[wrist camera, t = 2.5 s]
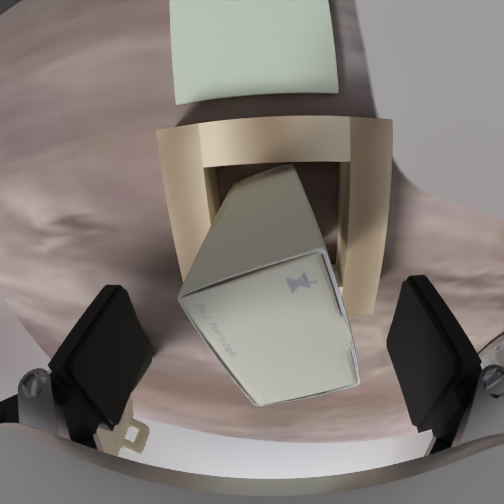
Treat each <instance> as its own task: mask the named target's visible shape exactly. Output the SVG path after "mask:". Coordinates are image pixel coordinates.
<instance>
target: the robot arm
mask: <svg viewBox="0 0 504 504" xmlns="http://www.w3.org/2000/svg"><path fill="white" fill-rule="evenodd" d="M387 349H388V352H389V355H390V358H391V360H392V363H393V366H394V369H395V372H396V375H397V378H398V381H399V384H400V387H401V390H402V393H403V396H404V399H405V402H406V405H407V409H408V412H409V415H410V419H411V422H412V424H413V425H414V426H417V429H418V433H420V432H424V431H427V430H430V429H432V432H433V439H432V440H431V443H430V445H429V447H428V449H427V451H426V453H425V455H424V457H421V458H417V459H414V460H410V461H406V462H402V463H398V464H394V465H390V466H385V467H381V468H376V469H372V470H366V471H360V472H355V473H348V474H341V475H333V476H324V477H312V478H296V479H245V478H229V477H218V476H209V475H201V474H194V473H187V472H181V471H176V470H170V469H165V468H160V467H155V466H151V465H147V464H143V463H139V462H135V461H131V460H128V459H124V458H120V457H117V456H114V455H111V454H108V453H105V452H104V450H103V447H102V445H101V442H100V439H99V437H98V434H97V429H98V426H99V427H100V428H102V429H105V430H108V431H112V432H113V429H114V427H115V425H118V424H119V422H120V420H121V417H122V415H123V412H124V409H125V407H126V404H127V402H128V399H129V397H130V394H131V392H132V389H133V387H134V385H135V382H136V380H137V377H138V375H139V373H140V370H141V368H142V365H143V363H144V361H145V358H146V356H147V354H148V350H149V346H148V342H147V340H146V338H145V335H144V333H143V330H142V328H141V326H140V323H139V321H138V318H137V316H136V313H135V311H134V308H133V305H132V303H131V300H130V297H129V295H128V292H127V291H126V290H125V289H124V288H123V287H122V286H121V285H106V286H104V287H103V289H102V290H101V291H100V293H99V294H98V295H97V296H96V298H95V299H94V300H93V302H92V303H91V304H90V306H89V307H88V308H87V310H86V311H85V312H84V314H83V315H82V316H81V318H80V319H79V320H78V322H77V323H76V325H75V326H74V327H73V329H72V330H71V332H70V333H69V334H68V336H67V337H66V339H65V340H64V342H63V343H62V345H61V346H60V347H59V349H58V350H57V352H56V353H55V355H54V356H53V358H52V359H51V361H50V363H49V364H48V366H49V368H50V369H51V370H52V371H51V373H50V374H49V373H48V372H47V371H46V370H44V369H42V368H37V369H33V370H31V371H29V372H28V373H26V374H25V375H24V376H23V378H22V379H21V380H20V383H19V386H18V394H17V395H14V396H12V397H10V398H8V399H5V400H3V401H1V402H0V504H504V334H503V335H502V336H500V337H499V338H497V339H496V340H494V341H493V342H492V343H490V344H489V345H488V346H487V347H486V348H485V349H483V350H482V351H481V352H480V353H479V354H477V352H476V350H475V349H474V347H473V345H472V344H471V342H470V340H469V339H468V337H467V335H466V334H465V332H464V330H463V329H462V327H461V326H460V324H459V323H458V321H457V320H456V318H455V316H454V315H453V313H452V312H451V310H450V309H449V308H448V306H447V305H446V303H445V302H444V300H443V299H442V297H441V296H440V295H439V293H438V292H437V290H436V289H435V288H434V286H433V285H432V284H431V282H430V281H429V279H428V278H427V277H426V276H425V275H415V276H409V277H408V278H407V280H406V281H404V282H403V283H402V287H401V291H400V295H399V299H398V303H397V306H396V310H395V314H394V317H393V321H392V324H391V327H390V331H389V334H388V337H387Z"/></svg>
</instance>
